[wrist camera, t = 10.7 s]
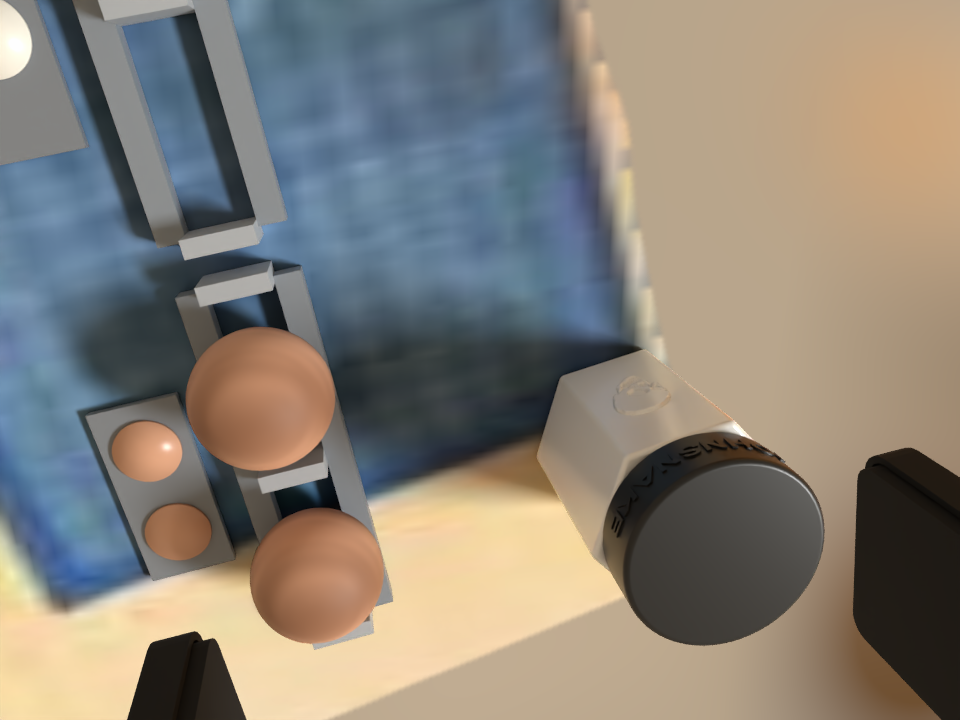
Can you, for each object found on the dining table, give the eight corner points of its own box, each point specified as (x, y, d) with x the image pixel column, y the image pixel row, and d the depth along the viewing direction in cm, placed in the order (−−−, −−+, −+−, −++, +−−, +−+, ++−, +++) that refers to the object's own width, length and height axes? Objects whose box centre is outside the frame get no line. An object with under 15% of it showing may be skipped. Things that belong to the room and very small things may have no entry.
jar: (684, 330, 39) (826, 425, 28) (708, 467, 42) (846, 603, 31) (515, 384, 38) (592, 505, 27) (553, 520, 41) (635, 679, 30)
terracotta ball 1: (180, 327, 34) (149, 374, 28) (315, 296, 34) (312, 336, 29) (221, 448, 36) (201, 513, 30) (348, 417, 36) (352, 475, 31)
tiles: (-116, -85, 28) (-125, -88, 27) (-1, -104, 28) (-8, -108, 28) (154, 576, 38) (152, 583, 37) (235, 554, 38) (234, 561, 38)
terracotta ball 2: (240, 502, 37) (224, 576, 31) (364, 471, 37) (369, 538, 32) (276, 603, 39) (266, 689, 33) (392, 572, 40) (401, 651, 34)
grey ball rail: (-14, -272, 27) (-45, -305, 24) (145, -295, 27) (128, -330, 25) (292, 625, 40) (290, 656, 38) (394, 597, 41) (397, 626, 38)
